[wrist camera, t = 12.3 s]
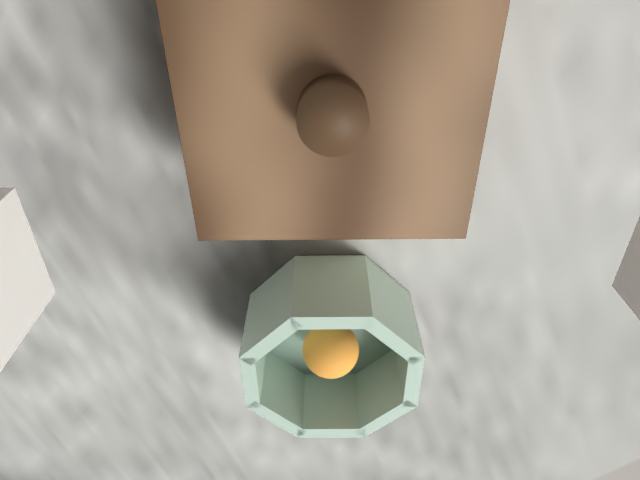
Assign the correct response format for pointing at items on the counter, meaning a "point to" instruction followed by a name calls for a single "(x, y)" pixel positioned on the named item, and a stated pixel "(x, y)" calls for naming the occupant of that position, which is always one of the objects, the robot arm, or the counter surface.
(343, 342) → the orange ball
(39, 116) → the counter surface
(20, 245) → the robot arm
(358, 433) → the bowl
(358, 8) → the lid
